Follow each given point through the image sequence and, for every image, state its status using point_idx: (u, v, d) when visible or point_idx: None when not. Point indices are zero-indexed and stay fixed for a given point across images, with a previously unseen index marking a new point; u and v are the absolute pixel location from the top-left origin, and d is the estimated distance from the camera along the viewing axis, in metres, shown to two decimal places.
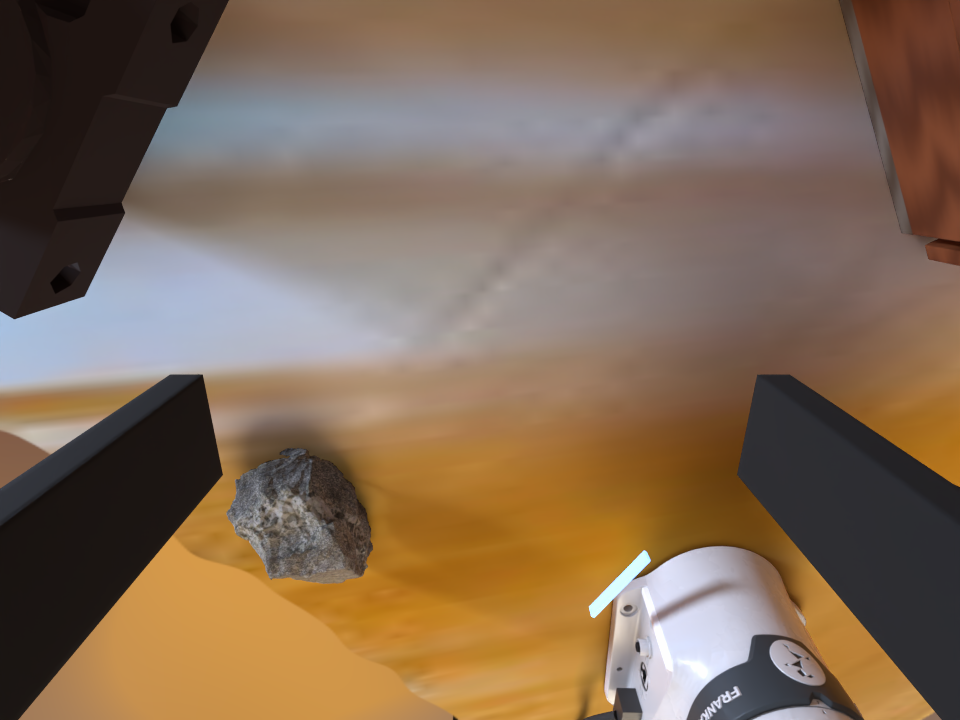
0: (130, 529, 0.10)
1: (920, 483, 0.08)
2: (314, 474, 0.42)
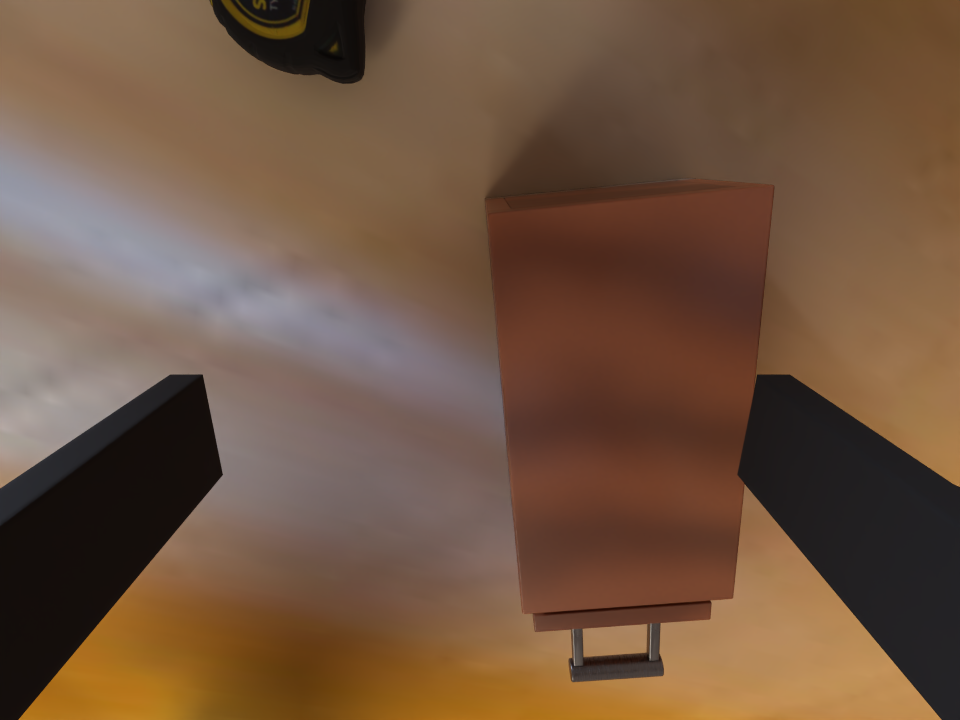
0: (130, 529, 0.10)
1: (920, 483, 0.08)
2: None
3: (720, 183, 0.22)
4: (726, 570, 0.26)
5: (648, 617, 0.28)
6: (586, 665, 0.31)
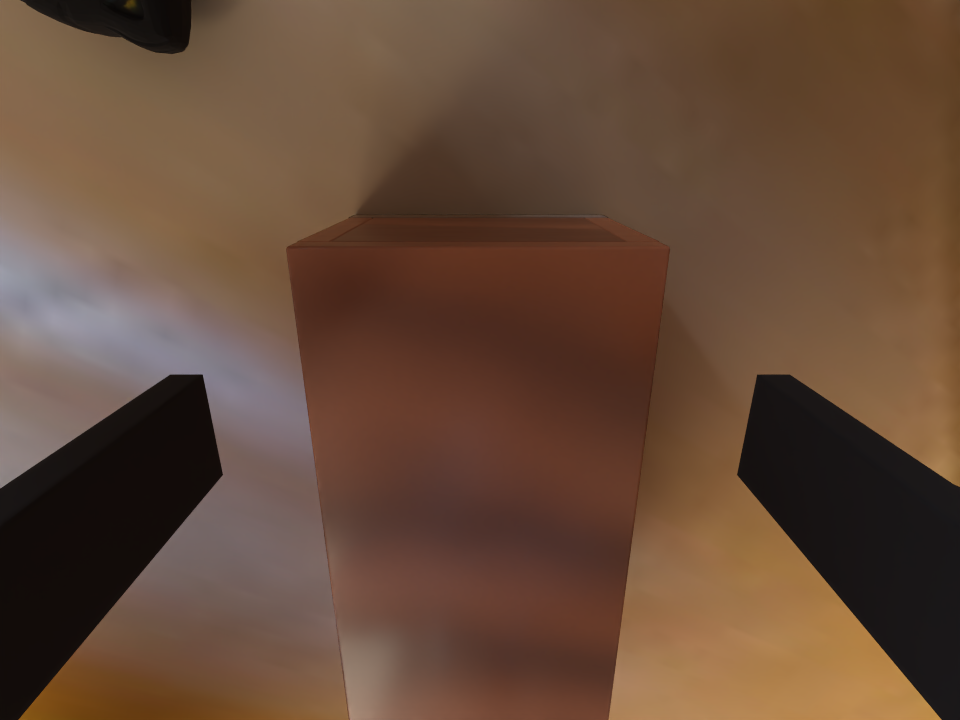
0: (130, 529, 0.10)
1: (920, 483, 0.08)
2: None
3: (618, 231, 0.17)
4: (599, 699, 0.21)
5: None
6: None
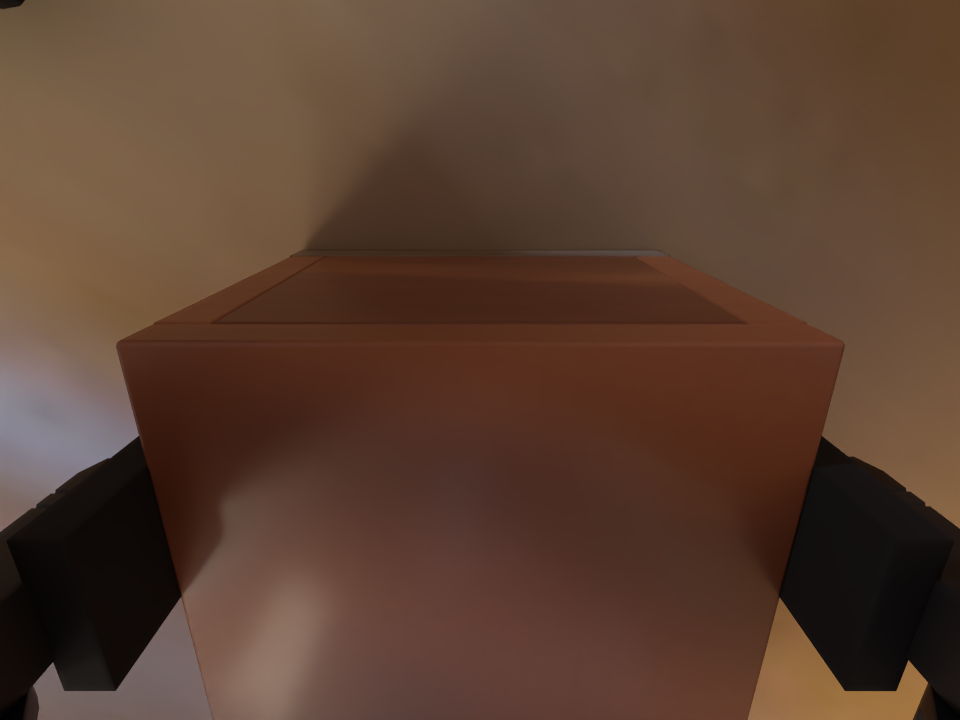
0: None
1: (818, 456, 0.09)
2: None
3: (712, 292, 0.10)
4: None
5: None
6: None
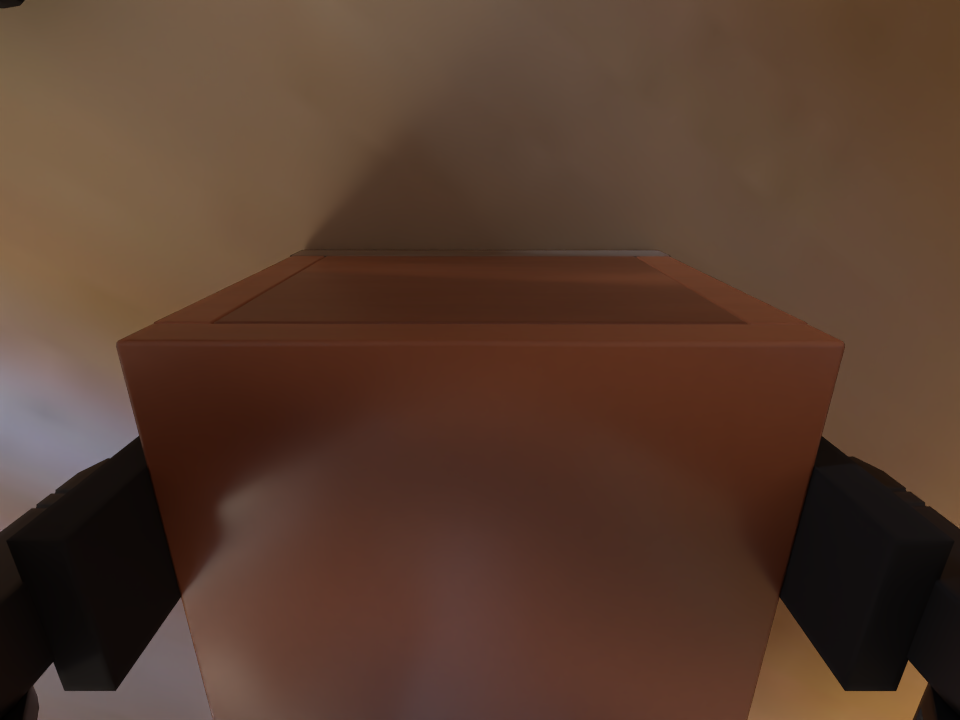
0: None
1: (818, 456, 0.09)
2: None
3: (712, 292, 0.10)
4: None
5: None
6: None
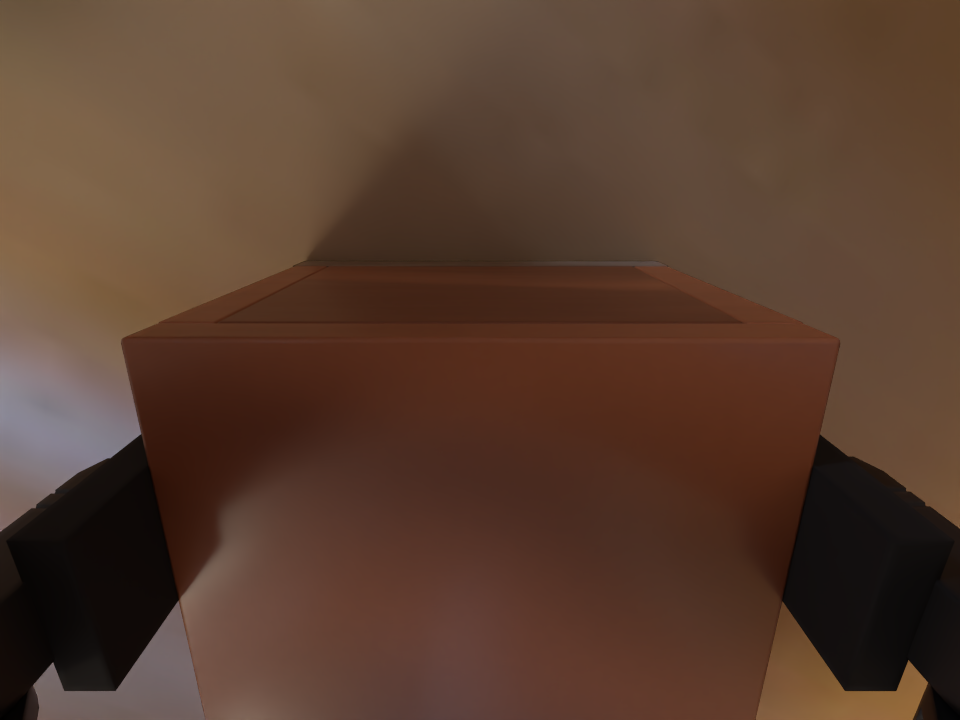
0: None
1: (818, 456, 0.09)
2: None
3: (709, 296, 0.11)
4: None
5: None
6: None
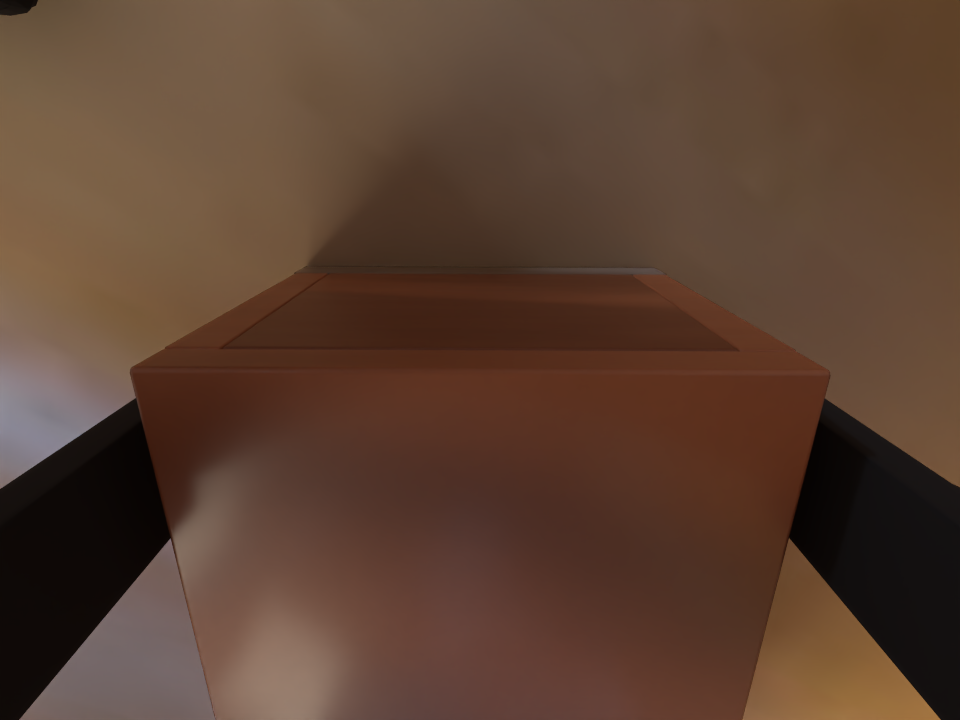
0: (131, 529, 0.10)
1: (919, 483, 0.08)
2: None
3: (705, 315, 0.11)
4: None
5: None
6: None
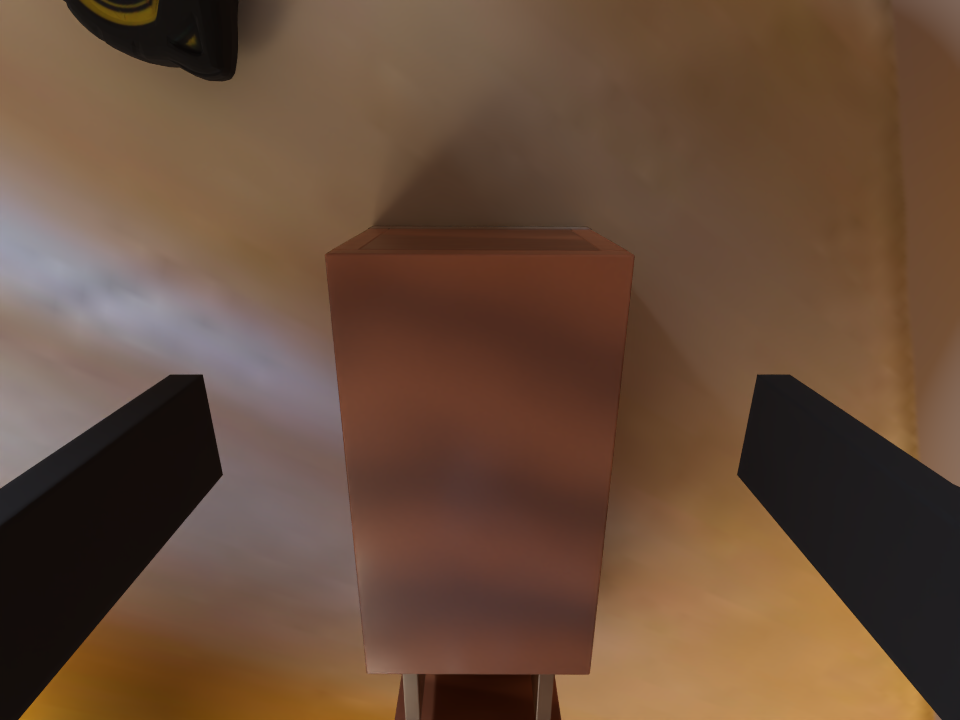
0: (130, 529, 0.10)
1: (920, 483, 0.08)
2: None
3: (596, 242, 0.21)
4: (582, 645, 0.24)
5: None
6: None
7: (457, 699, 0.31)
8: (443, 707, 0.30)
